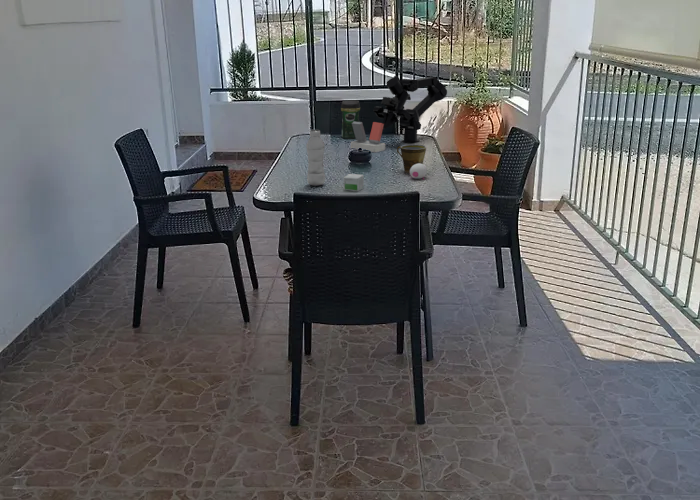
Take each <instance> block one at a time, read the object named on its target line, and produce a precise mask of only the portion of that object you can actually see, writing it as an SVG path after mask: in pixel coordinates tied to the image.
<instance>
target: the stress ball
mask: <svg viewBox="0 0 700 500" xmlns="http://www.w3.org/2000/svg"><path fill="white" fill-rule="evenodd" d="M427 173H428V168H427V166H426V165H425V164H424V163H423V164H420V163H418V164H415V165H413V166H412V167H411V169H410V174H409V175H410V176H409V177H411V178H412V179H417V180H419V179H422V180H424V181H425V178H424V177H425V176H426V175H427Z"/></svg>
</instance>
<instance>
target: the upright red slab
mask: <svg viewBox="0 0 700 500" xmlns="http://www.w3.org/2000/svg"><path fill="white" fill-rule="evenodd" d="M383 126H384V124H383V122H377V121H373V122H372V126H371V131H370V133H369V138H368V141H369V142H370V143H376V144H379V143H381V139H382V134H383V130H384V129H383Z"/></svg>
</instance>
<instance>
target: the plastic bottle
mask: <svg viewBox="0 0 700 500" xmlns="http://www.w3.org/2000/svg"><path fill="white" fill-rule="evenodd" d="M309 137H310V138H308V140H307V143H306V152H307V160H308V164H307V165H308V167H307V176H306V179H307V183H308V185H309V186H315V187H318V186H322V185H324V184H325V182H326V175H325V174H326V173H325V167H324V157H325V154H324V153H325V142H324V141H323V139H322V138H321V130H320V129H310V130H309Z"/></svg>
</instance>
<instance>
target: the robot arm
mask: <svg viewBox="0 0 700 500" xmlns="http://www.w3.org/2000/svg"><path fill="white" fill-rule="evenodd" d="M386 87H387V88H388V90H389V91H390V93H391V94H392V95H393V97H388V96H383V97H382V100H381V103H380V104H381V105H384V107H385V109H384V107H383V106H374V108H373V110H372V111H373V114H375V116H377V118H378V119H383V122H382V123H383V124H384V126H383V130H386V129H387V128H389V127H390V126H392V125H394V124H396V123H399V125H400V129H401V130H403V140H401V143H409V144H414V143H417V142H418V143H419V142H420V139H418V131H419V130H421V128H422V124H421V122H420V117H421V116H422V115H423V114H424V113H425V112H427V110H428V109H429V108H431V106H432V105H433V104H435V103H436V102H439V101H442V100H443V99H445V98H446V97H447V95H448V89H447V88H446V86H445V85H444V84H443V83H442V82H441V81H439V80H438V78H437V77H436V76H427V77H421V78H416V79H414V78H413V79H412V78H401V79H400V77H399V76H398V75H394V76H393V77H391V78H389V80H387V81H386ZM425 87H426V91H427V95H426V96H425V97H424V98H423V99H422V100H421V101H420V102H419V103H418V104H416V106H415V107H414V108H412V109H411V108H406V109H405V106H404V105H405V104H406V102H407V101H411V99H412V98H411V94H410V93H409V92H411V93H414V92H416V91H418V90H419V89H420V88H425Z"/></svg>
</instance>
